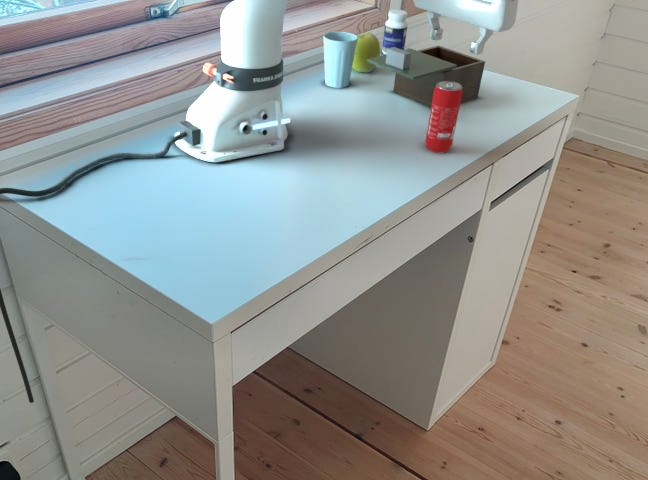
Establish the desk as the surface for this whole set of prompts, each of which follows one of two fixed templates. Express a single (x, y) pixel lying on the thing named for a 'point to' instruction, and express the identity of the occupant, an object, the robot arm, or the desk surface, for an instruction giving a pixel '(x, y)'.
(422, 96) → the wooden box
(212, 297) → the desk surface
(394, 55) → the slide lid
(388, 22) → the pill bottle
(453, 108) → the beverage can
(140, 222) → the desk surface
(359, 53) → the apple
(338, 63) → the cup
